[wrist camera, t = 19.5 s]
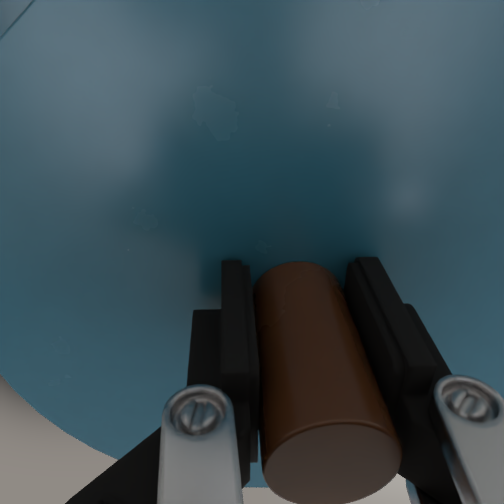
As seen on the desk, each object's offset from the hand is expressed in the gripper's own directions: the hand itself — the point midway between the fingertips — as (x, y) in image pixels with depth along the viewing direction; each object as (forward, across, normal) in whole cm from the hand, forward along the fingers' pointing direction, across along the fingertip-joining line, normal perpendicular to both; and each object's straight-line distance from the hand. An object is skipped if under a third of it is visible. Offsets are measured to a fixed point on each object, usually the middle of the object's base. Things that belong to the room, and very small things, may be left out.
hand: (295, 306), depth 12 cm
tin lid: (+1, 0, 0) cm, 1 cm away
